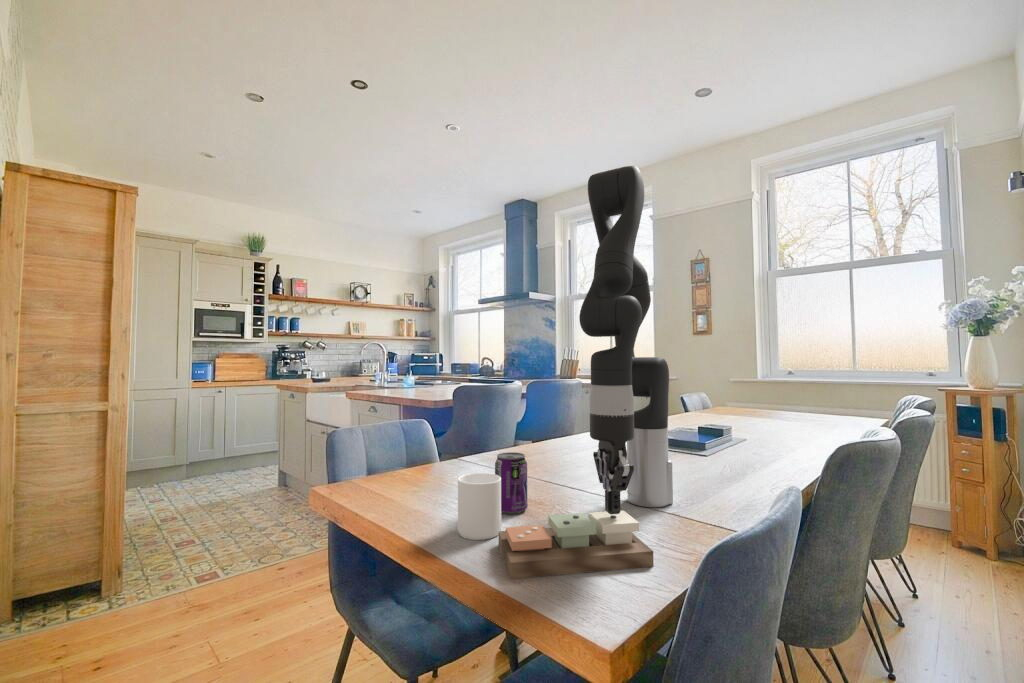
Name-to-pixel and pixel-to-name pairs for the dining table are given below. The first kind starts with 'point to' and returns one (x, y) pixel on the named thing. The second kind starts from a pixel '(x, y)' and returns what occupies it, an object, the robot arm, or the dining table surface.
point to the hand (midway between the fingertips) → (612, 512)
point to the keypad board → (574, 557)
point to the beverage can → (512, 481)
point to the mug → (479, 506)
